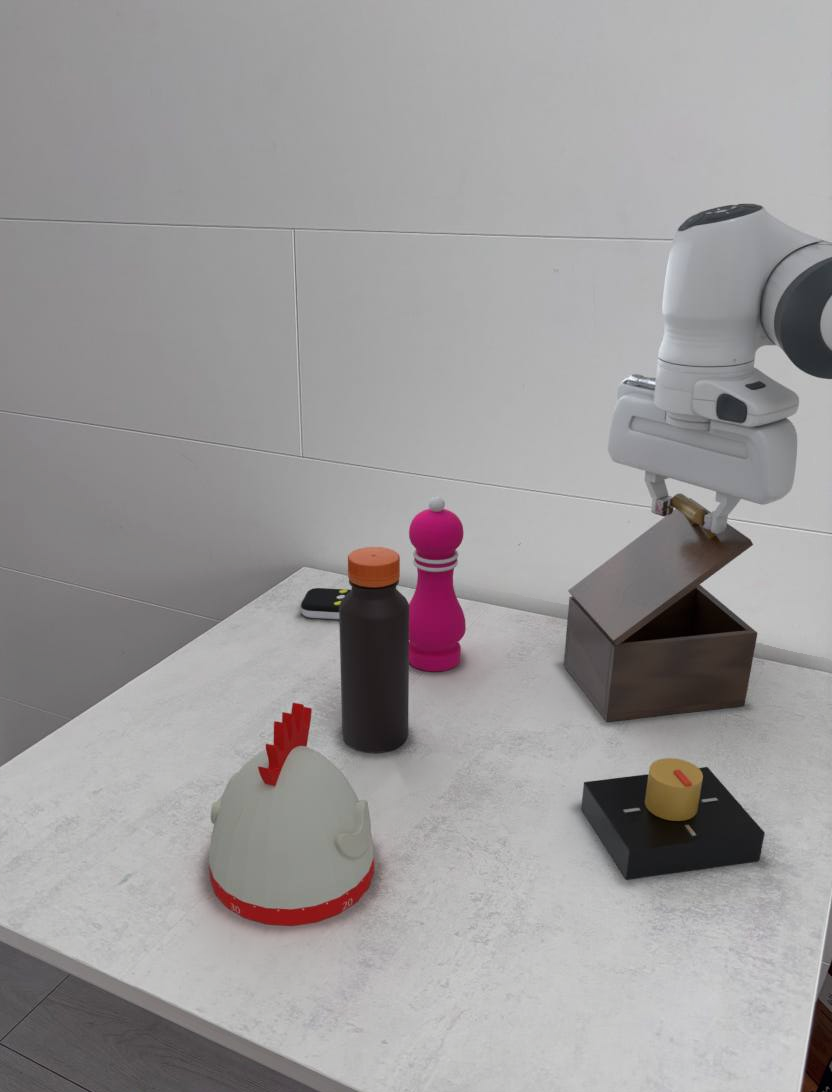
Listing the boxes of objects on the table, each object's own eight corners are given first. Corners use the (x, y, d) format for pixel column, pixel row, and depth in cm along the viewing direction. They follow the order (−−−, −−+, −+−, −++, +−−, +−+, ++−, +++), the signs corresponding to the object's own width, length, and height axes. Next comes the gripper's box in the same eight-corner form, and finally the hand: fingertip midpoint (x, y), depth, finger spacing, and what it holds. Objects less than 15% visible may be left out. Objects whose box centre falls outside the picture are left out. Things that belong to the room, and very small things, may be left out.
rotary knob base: (702, 793, 96) (707, 765, 94) (759, 861, 87) (765, 831, 85) (580, 808, 94) (583, 780, 92) (625, 879, 85) (629, 849, 84)
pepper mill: (396, 648, 123) (397, 488, 114) (455, 642, 124) (459, 483, 115) (410, 677, 116) (412, 510, 107) (472, 670, 117) (478, 505, 108)
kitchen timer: (396, 838, 90) (397, 691, 84) (336, 943, 79) (331, 783, 72) (256, 805, 95) (245, 663, 88) (179, 899, 84) (160, 745, 77)
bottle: (406, 718, 108) (408, 542, 99) (409, 753, 102) (411, 569, 93) (342, 719, 108) (338, 543, 99) (342, 754, 102) (337, 570, 93)
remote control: (308, 598, 136) (308, 584, 135) (404, 603, 134) (404, 589, 133) (298, 618, 130) (298, 604, 130) (398, 624, 128) (398, 610, 128)
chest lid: (693, 502, 112) (674, 471, 110) (753, 544, 101) (733, 511, 98) (571, 595, 114) (550, 566, 112) (617, 646, 103) (594, 615, 101)
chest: (689, 652, 120) (699, 584, 116) (744, 706, 109) (757, 632, 105) (563, 665, 118) (569, 596, 114) (606, 722, 107) (614, 647, 103)
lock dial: (635, 794, 90) (640, 758, 89) (681, 787, 91) (687, 752, 89) (659, 824, 87) (665, 787, 85) (707, 817, 87) (713, 780, 86)
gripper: (599, 376, 105) (591, 503, 111) (773, 412, 90) (752, 558, 96) (641, 366, 108) (631, 491, 115) (816, 400, 93) (793, 542, 99)
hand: (687, 522), depth 105 cm, fingers closed on chest lid, 5 cm apart
